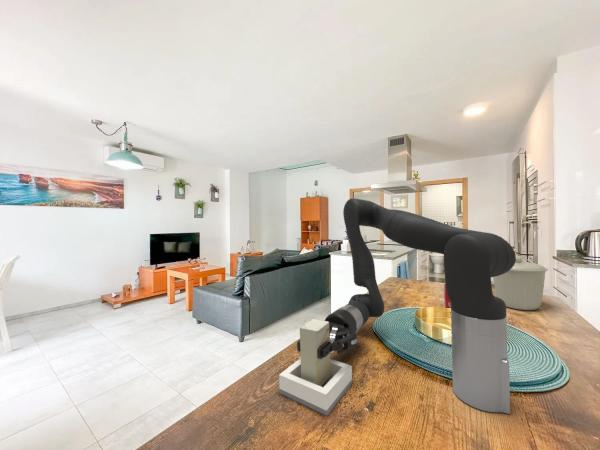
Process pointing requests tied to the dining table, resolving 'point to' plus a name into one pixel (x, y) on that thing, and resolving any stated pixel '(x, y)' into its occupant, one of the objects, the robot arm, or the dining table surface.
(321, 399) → the socket block
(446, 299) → the soda can
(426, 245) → the robot arm
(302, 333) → the skincare box
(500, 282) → the canister
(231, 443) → the dining table surface
